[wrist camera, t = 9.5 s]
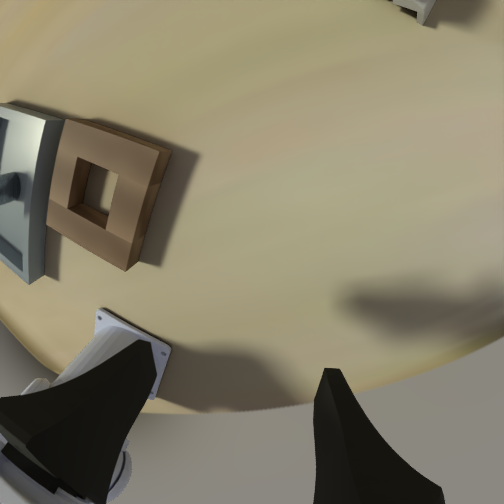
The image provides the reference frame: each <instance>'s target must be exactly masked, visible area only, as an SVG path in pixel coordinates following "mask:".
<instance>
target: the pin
mask: <svg viewBox="0 0 504 504" xmlns="http://www.w3.org/2000/svg"><path fill="white" fill-rule="evenodd" d="M20 192H21V183H20V178H19V176H18V174H17V173H16V172H10V173H6V174H1V175H0V206H1V205H4V204H7V203H9V202H12V201H15V200H17V199H18V198H19V196H20Z"/></svg>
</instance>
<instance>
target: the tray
mask: <svg viewBox="0 0 504 504" xmlns="http://www.w3.org/2000/svg"><path fill="white" fill-rule="evenodd" d="M64 124H65V120H63V119H60V118H57V117H54V116H51V115H47V114H44V113H41V112H37V111H34V110H30V109H27V108H23V107H20V106H16V105H12V104H8V103H0V175H1V174H6V173H10V172H16V173H17V174H18V176H19V178H20V183H21V192H20V196H19V198H18V199H17V200H15V201H12V202H9V203H7V204H4V205H1V206H0V260H1V261H2V262H3V263H4V264H5V265H6V266H8V267H9V268H10V269H11V270H12V271H13V272H14V273H15V274H17V275H18V276H19V277H20V278H21V279H22V280H24V281H25V282H26V283H27V284H28V285H30V284H31V283H33V282H34V281H36V280H37V279H39V278H40V277H42V276H43V275H44V255H45V236H46V221H47V211H48V203H49V195H50V189H51V182H52V177H53V171H54V166H55V161H56V156H57V152H58V147H59V143H60V139H61V135H62V131H63V127H64Z"/></svg>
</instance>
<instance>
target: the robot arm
mask: <svg viewBox="0 0 504 504" xmlns="http://www.w3.org/2000/svg"><path fill="white" fill-rule="evenodd" d="M164 352H165V353H164ZM170 352H171V347H170V346H169V345H167V344H165V343H163V342H161V341H159V340H157V339H156V338H154V337H152V336H150V335H148V334H146V333H144V332H142V331H141V330H139V329H137V328H135V327H133V326H131V325H130V324H128V323H126V322H124V321H123V320H121V319H119V318H117V317H116V316H114V315H112V314H111V313H109V312H107V311H106V310H104V309H102V308H99V309H98V310H97V311H96V321H95V335H94V338H93V339H92V340H91V341H90V342H89V343H88V344H87V345H86V346H85V347H84V349H83V350H82V351H81V352H80V353H79V354H78V355H77V356H76V357H75V358H74V360H73V361H72V362H71V363H70V364H69V365H68V366H67V367H66V369H65V370H64V371H63V372H62V373H61V374H60V376H59V377H58V378H57V379H56V380H55V381H54V382H53V383H51V384H50V382H49V381H48V380H47V379H45V378H44V379H39V378H36V379H35V380H34V381H33V382H32V383H31V384H30V385H29V386H28V387H27V388H26V389H25V390H24V391H23V392H22V393H21V394H20V395H19V396H9V397H1V398H0V504H106V503H107V502H110V501H112V500H114V499H115V498H116V497H118V496H119V495H120V494H121V493H122V491H123V490H124V489H125V487H126V485H127V484H128V482H129V479H130V476H131V472H132V462H131V456H130V454H129V453H128V452H127V451H126V448H127V446H128V444H129V440H128V439H126V437H127V434H128V433H129V431H130V429H131V427H132V425H133V423H134V422H135V420H136V418H137V416H138V414H139V413H140V411H141V409H142V408H143V406H144V404H145V402H146V400H147V399H150V400H154V399H155V397H156V394H157V390H158V387H159V384H160V381H161V378H162V376H163V373H164V370H165V367H166V364H167V361H168V358H169V355H170ZM313 425H314V439H315V455H316V481H315V493H314V502H313V504H445V500H444V495H443V491H442V488H441V487H440V486H438V485H436V484H435V483H433V482H432V481H430V480H429V479H427V478H425V477H424V476H423V475H421V474H420V473H419V472H417V471H416V470H415V469H414V468H412V467H411V466H410V465H409V464H408V463H407V462H406V461H404V460H403V459H402V458H401V457H400V456H399V455H398V454H397V453H396V452H395V451H394V450H393V449H392V448H391V447H390V446H389V445H388V443H387V442H386V441H385V440H384V439H383V438H382V436H381V435H380V434H379V433H378V431H377V430H376V429H375V427H374V426H373V425H372V423H371V422H370V420H369V419H368V417H367V416H366V414H365V413H364V411H363V410H362V408H361V406H360V405H359V403H358V402H357V400H356V398H355V396H354V395H353V393H352V391H351V389H350V387H349V385H348V383H347V382H346V380H345V378H344V376H343V374H342V372H341V370H340V369H336V368H324V371H323V375H322V378H321V381H320V384H319V387H318V390H317V393H316V396H315V399H314V416H313Z"/></svg>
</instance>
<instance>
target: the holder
mask: <svg viewBox="0 0 504 504" xmlns="http://www.w3.org/2000/svg"><path fill="white" fill-rule="evenodd" d="M171 153H172V151H171V150H169V149H166V148H163V147H161V146H158V145H156V144H153V143H150V142H148V141H145V140H142V139H139V138H137V137H134V136H131V135H128V134H125V133H122V132H120V131H117V130H114V129H111V128H108V127H105V126H102V125H99V124H96V123H93V122H90V121H86V120H83V119H66V120H65V124H64V127H63V131H62V135H61V139H60V143H59V147H58V152H57V156H56V161H55V166H54V171H53V177H52V182H51V189H50V195H49V203H48V211H47V221H46V225H48V226H49V227H51V228H53V229H54V230H56V231H57V232H59V233H60V234H62V235H64V236H65V237H67V238H68V239H70V240H72V241H73V242H75V243H77V244H78V245H80V246H82V247H83V248H85V249H87V250H88V251H90V252H92V253H93V254H95V255H97V256H98V257H100V258H102V259H104V260H105V261H107V262H109V263H111V264H112V265H114V266H116V267H118V268H120V269H121V270H123V271H125V272H126V271H127V270H128V269H130V268H131V267H132V266H133V265H134V264H136V263H137V262H138V260H139V256H140V252H141V248H142V245H143V241H144V237H145V233H146V230H147V226H148V223H149V219H150V216H151V213H152V209H153V206H154V203H155V200H156V197H157V193H158V190H159V187H160V184H161V181H162V178H163V175H164V173H165V170H166V167H167V164H168V161H169V159H170V156H171ZM91 163H93V164H96V165H98V166H100V167H103V168H105V169H107V170H110V171H112V172H114V173H117V174H119V176H118V180H117V183H116V187H115V191H114V195H113V199H112V203H111V207H110V212H109V216H106V215H104V214H102V213H101V212H99V211H97V210H95V209H93V208H91V207H89V206H87V205H85V204H83V198H84V193H85V188H86V184H87V179H88V175H89V171H90V167H91Z"/></svg>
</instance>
